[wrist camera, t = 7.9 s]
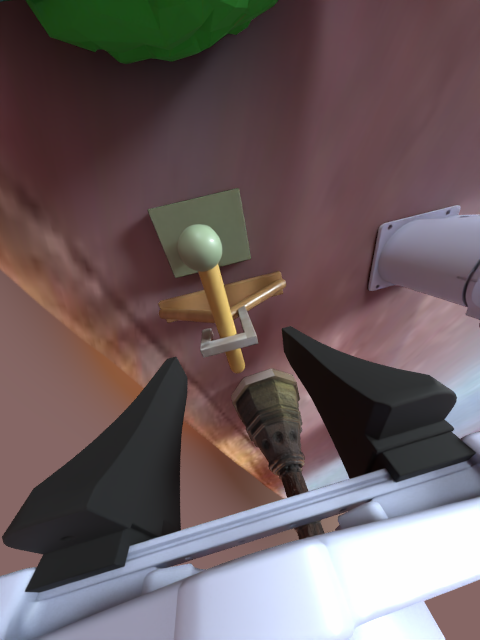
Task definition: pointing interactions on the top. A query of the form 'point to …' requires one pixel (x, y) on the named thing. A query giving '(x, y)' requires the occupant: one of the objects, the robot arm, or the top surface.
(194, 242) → the stand
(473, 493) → the robot arm
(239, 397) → the bird statue
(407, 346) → the top surface
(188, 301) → the hanger
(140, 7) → the brain model
